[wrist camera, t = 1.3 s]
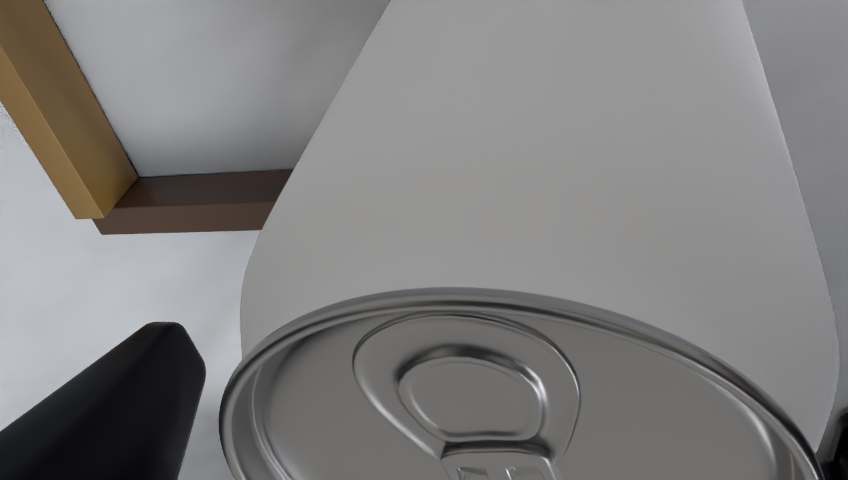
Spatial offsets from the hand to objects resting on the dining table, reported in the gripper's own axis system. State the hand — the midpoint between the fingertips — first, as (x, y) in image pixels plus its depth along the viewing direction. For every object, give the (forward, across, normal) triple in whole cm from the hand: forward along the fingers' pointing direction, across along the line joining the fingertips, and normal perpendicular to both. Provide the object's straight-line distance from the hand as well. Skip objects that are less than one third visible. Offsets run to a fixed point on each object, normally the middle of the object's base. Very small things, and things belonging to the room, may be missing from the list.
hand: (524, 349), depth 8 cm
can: (+10, 0, 0) cm, 10 cm away
